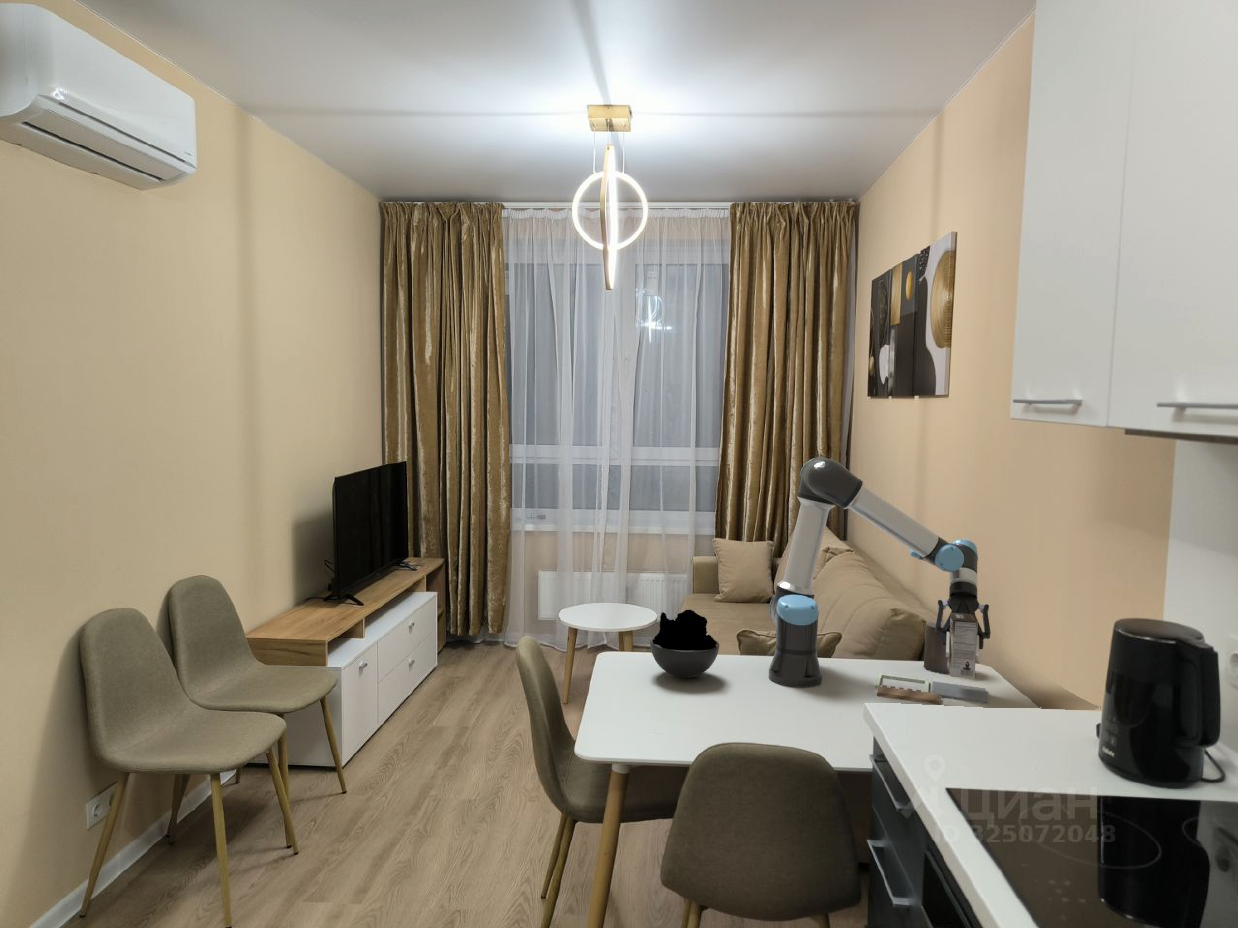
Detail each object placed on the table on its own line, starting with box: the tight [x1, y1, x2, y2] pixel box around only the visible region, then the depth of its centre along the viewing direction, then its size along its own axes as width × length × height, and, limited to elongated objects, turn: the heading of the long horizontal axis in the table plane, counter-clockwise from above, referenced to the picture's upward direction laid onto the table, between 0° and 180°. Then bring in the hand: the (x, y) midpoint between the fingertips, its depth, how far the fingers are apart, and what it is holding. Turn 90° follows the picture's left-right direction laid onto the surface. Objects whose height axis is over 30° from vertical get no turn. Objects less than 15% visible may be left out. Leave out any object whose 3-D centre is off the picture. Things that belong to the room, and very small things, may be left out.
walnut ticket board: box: [876, 685, 941, 706], centre depth 220 cm, size 16×6×1 cm, turn 68°
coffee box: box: [947, 612, 979, 680], centre depth 223 cm, size 9×6×16 cm
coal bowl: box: [649, 609, 720, 679], centre depth 232 cm, size 20×20×19 cm
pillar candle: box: [923, 620, 950, 674], centre depth 247 cm, size 10×10×15 cm
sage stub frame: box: [874, 672, 930, 693], centre depth 230 cm, size 14×12×1 cm
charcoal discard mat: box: [931, 681, 989, 704], centre depth 224 cm, size 14×12×1 cm
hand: (962, 656), depth 220 cm, fingers closed on coffee box, 7 cm apart
